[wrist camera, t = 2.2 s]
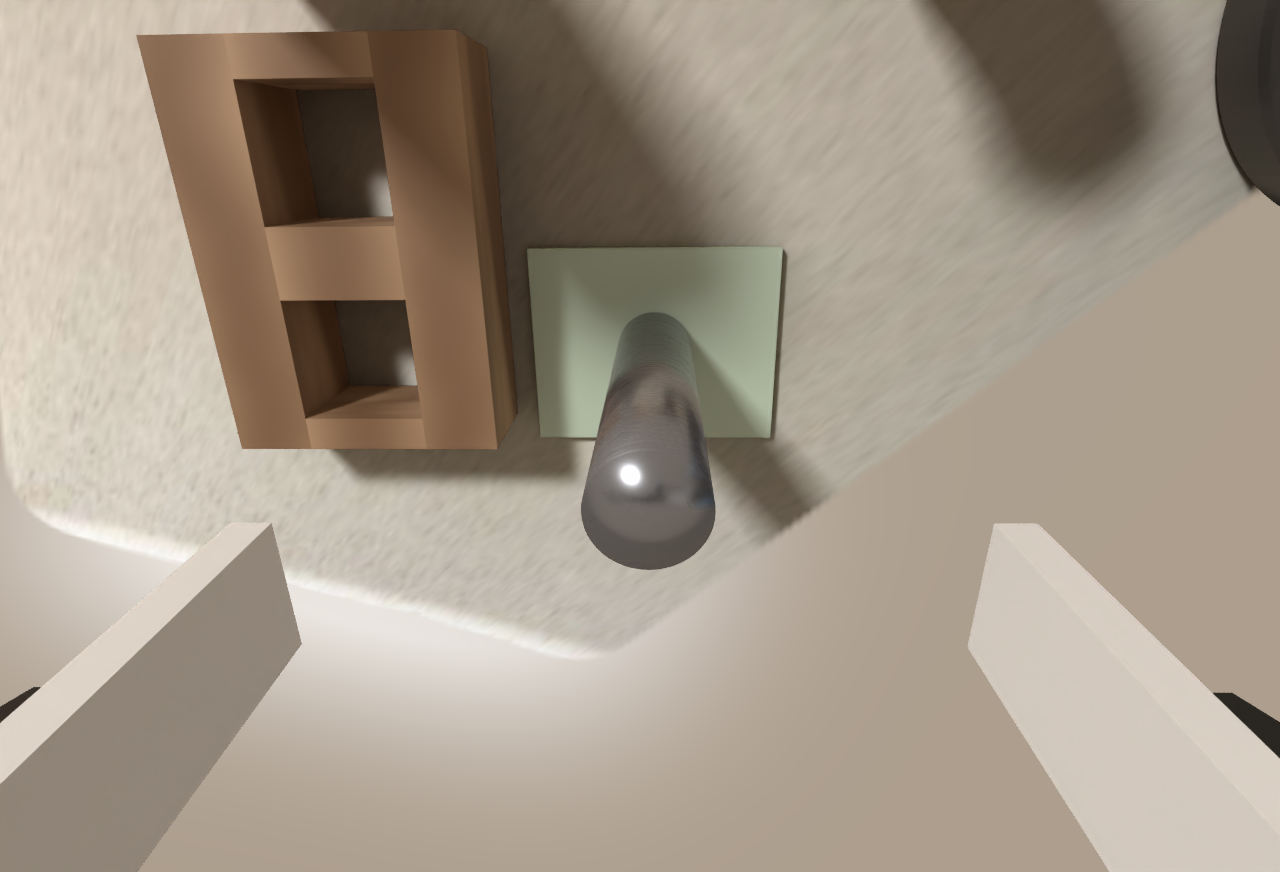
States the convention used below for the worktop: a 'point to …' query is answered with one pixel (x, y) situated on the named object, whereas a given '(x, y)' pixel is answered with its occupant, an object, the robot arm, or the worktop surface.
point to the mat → (667, 283)
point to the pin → (650, 452)
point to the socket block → (342, 233)
